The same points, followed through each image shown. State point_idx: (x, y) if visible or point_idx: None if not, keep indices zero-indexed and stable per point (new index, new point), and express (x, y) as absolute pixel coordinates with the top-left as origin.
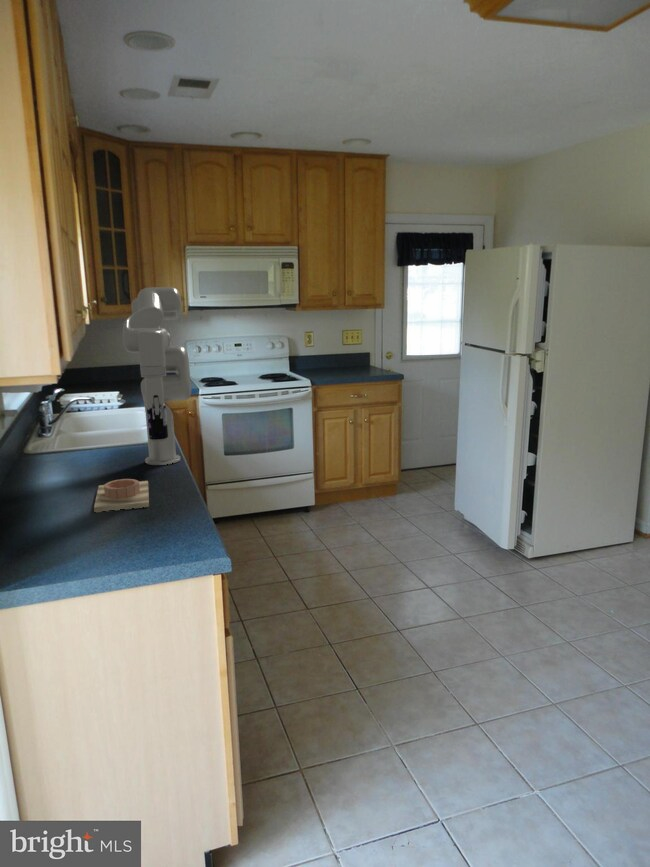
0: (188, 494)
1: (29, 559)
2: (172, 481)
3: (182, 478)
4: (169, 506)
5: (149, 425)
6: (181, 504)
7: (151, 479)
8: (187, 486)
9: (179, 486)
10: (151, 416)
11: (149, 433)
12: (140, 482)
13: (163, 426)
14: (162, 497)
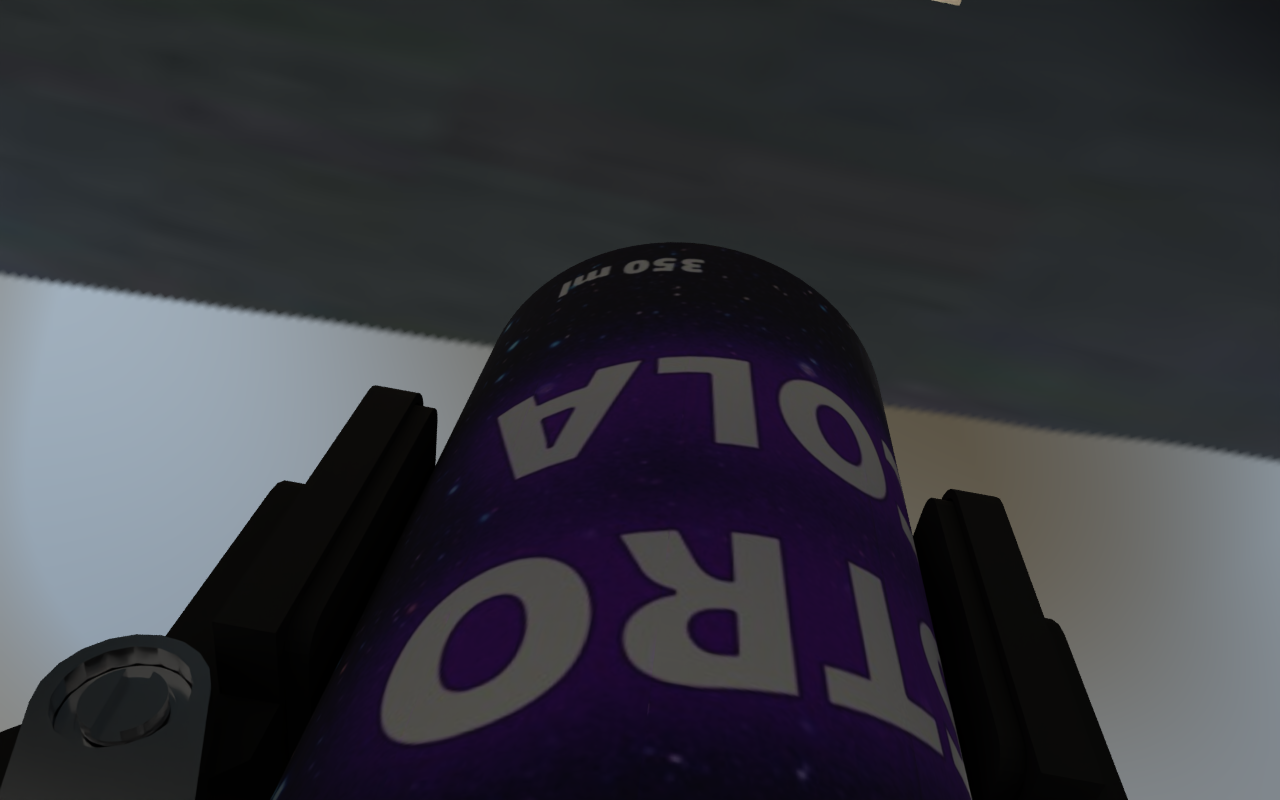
0: (415, 294)
1: None
2: (923, 270)
3: (963, 378)
4: (109, 50)
5: (549, 421)
6: (142, 166)
7: (1169, 82)
8: None
9: None
10: (336, 708)
11: (634, 295)
12: None
13: None
14: (416, 49)
